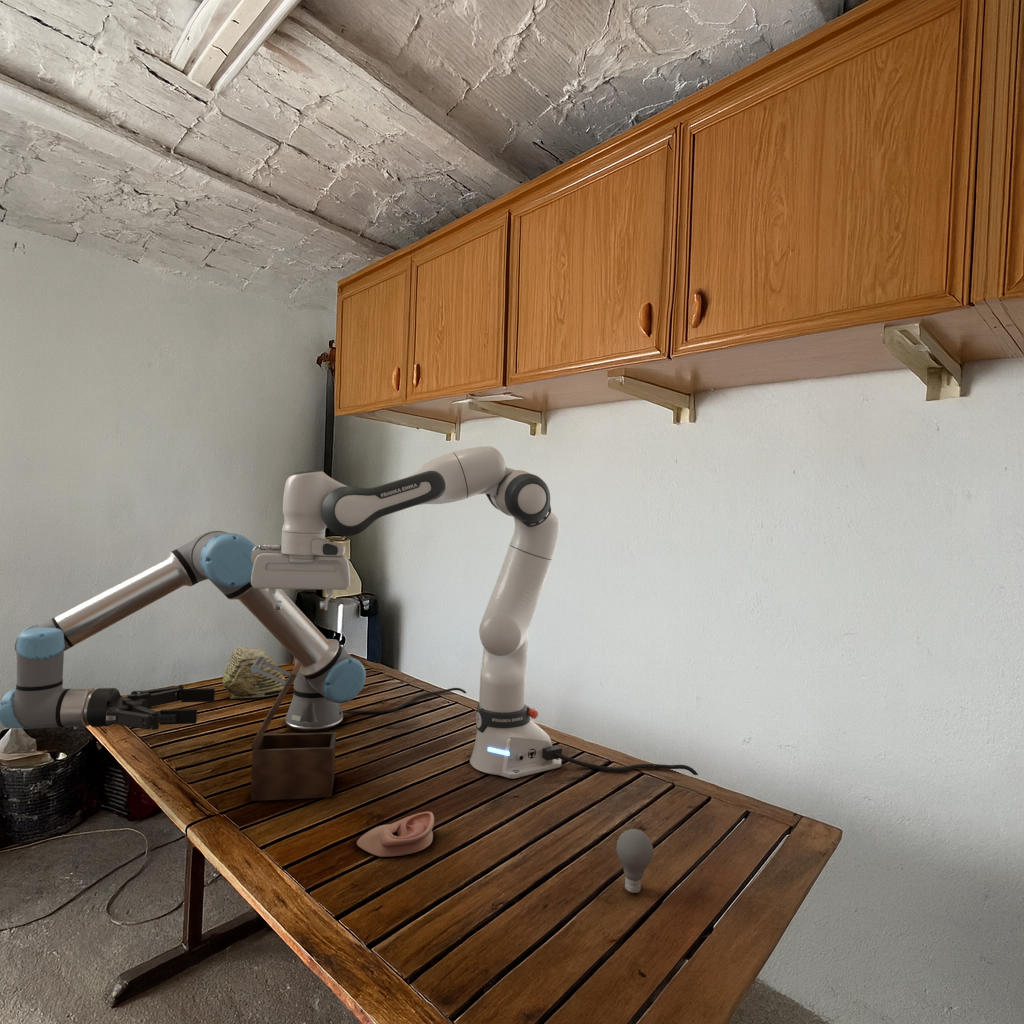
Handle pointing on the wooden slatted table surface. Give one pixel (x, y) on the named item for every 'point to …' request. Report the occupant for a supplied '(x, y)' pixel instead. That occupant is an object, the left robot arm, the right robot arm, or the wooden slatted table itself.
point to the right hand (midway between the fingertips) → (300, 609)
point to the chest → (293, 766)
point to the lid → (287, 684)
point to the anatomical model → (399, 836)
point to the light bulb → (634, 857)
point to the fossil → (250, 675)
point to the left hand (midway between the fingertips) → (205, 705)
